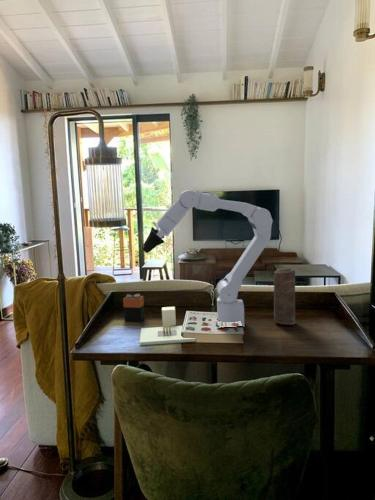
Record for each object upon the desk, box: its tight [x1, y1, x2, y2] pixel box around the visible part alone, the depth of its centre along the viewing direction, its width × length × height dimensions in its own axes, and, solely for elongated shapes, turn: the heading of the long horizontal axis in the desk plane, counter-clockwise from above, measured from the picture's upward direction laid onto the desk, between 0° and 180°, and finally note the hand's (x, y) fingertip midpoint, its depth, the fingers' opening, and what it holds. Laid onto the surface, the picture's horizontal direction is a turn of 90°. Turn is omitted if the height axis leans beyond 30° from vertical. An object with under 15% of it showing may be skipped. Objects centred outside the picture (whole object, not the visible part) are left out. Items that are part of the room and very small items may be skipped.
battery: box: [122, 293, 146, 323], centre depth 147 cm, size 4×7×10 cm, turn 76°
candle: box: [273, 267, 296, 326], centre depth 136 cm, size 8×7×20 cm
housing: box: [161, 306, 177, 327], centre depth 142 cm, size 5×3×6 cm
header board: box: [139, 325, 196, 346], centre depth 131 cm, size 18×12×4 cm, turn 94°
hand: (145, 249), depth 133 cm, fingers open, 7 cm apart
